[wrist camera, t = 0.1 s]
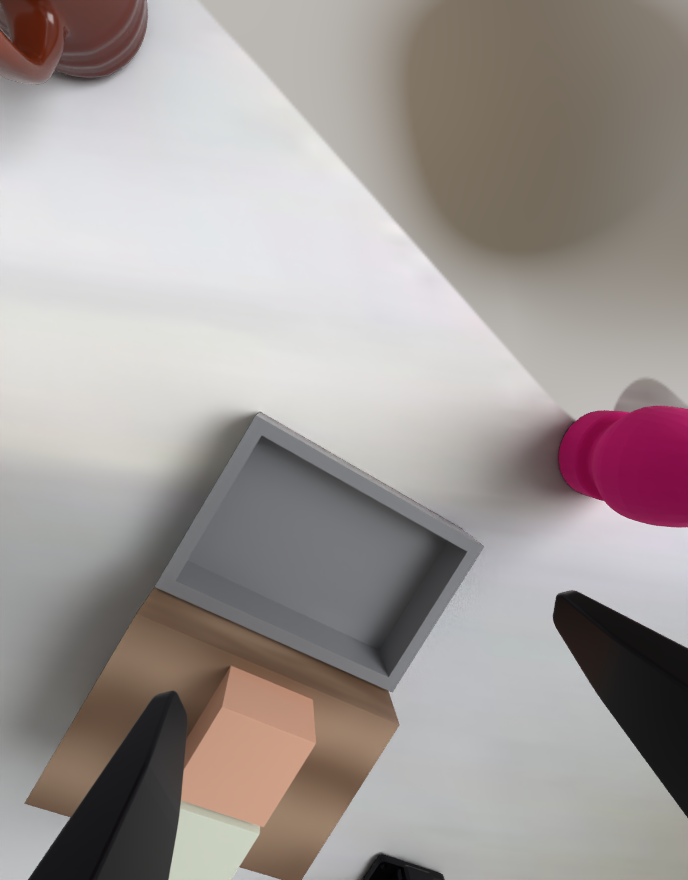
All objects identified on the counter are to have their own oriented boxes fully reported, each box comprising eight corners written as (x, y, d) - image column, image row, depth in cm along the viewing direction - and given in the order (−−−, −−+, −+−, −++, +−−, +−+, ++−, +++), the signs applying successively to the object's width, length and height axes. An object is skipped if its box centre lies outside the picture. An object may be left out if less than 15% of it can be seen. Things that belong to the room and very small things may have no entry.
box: (380, 658, 26) (392, 692, 23) (172, 561, 23) (154, 586, 20) (461, 528, 25) (484, 546, 22) (260, 411, 22) (256, 415, 19)
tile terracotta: (266, 773, 20) (263, 827, 18) (183, 744, 19) (167, 796, 17) (312, 699, 20) (316, 743, 17) (231, 665, 19) (222, 706, 16)
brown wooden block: (296, 792, 26) (298, 884, 21) (80, 715, 23) (24, 803, 18) (378, 661, 26) (399, 724, 21) (169, 565, 23) (136, 613, 18)
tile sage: (218, 852, 20) (208, 916, 18) (133, 826, 19) (110, 890, 17) (263, 779, 20) (259, 833, 18) (179, 750, 19) (163, 803, 17)
